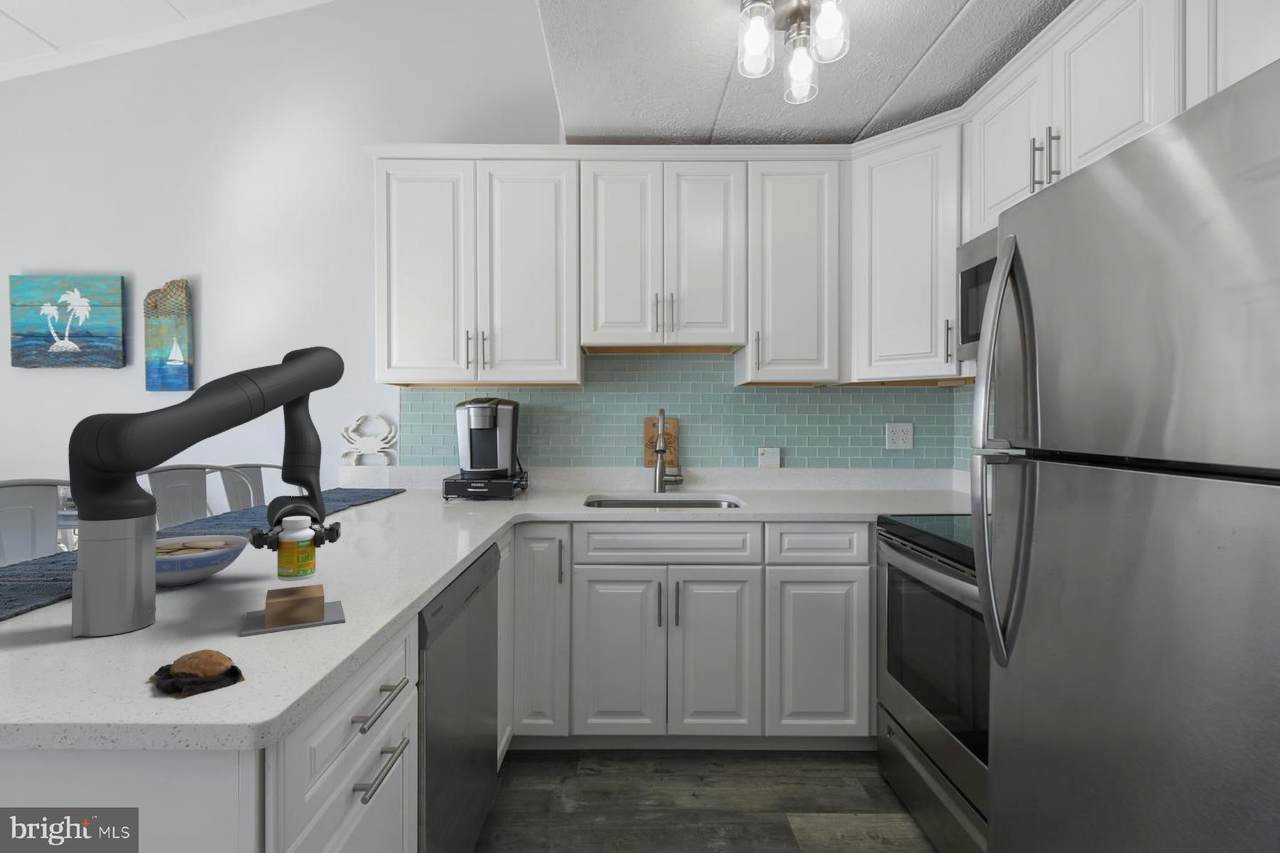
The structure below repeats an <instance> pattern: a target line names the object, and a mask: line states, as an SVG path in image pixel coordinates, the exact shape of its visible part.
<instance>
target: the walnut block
mask: <svg viewBox="0 0 1280 853" xmlns="http://www.w3.org/2000/svg"><path fill="white" fill-rule="evenodd" d="M264 603H265V608H264V610H265V629H267V628H274V627H282V626H289V625H296V624H304V623H311V622H318V621H324V603H325V592H324V586H323V583H321V584H320V583H319V584H311V585H303V586H302V585H301V586H293V587H284V588H276V589H275V588H274V589H267V592H266V598H265V602H264Z"/></svg>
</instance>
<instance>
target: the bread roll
mask: <svg viewBox="0 0 1280 853" xmlns="http://www.w3.org/2000/svg"><path fill="white" fill-rule="evenodd" d="M149 679H150V682H151V683H152V684H153V685H154V686H155V688H156V689H157V690H158V691H160V692H161V693H163V694H165V695H166V696H168V697H170V698H171V699H178V698H179V697H180V698H179V700H182V699H187V698H190V697H194V696H197V695H200V694H205V693H209V692H212V691H217V690H219V689H220V690H221V689H224V688H228V687H231V686H233V685H236V684H238V683H242V682H244V681H245V680H246V678H245V677H244V675H243V672H242V670H241V669H240V668H239V667H238V666H237V665H235V663H234V661H233V660H232V658H231V657H229V656H227V655H226V654H224V653H222V652H220V651H219V650H214V649H201V650H200V649H199V650H197V651H193V652H190V653H187V654H184V655H181V656H180V657H179V658H177V659H176V660H174V661H173V663H168V664H166V665H161V666H160V667H159V668H158V670H156V672H154V673H153V675H151V676H150V677H149Z"/></svg>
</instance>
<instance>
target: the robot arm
mask: <svg viewBox="0 0 1280 853" xmlns="http://www.w3.org/2000/svg"><path fill="white" fill-rule="evenodd" d="M344 372H345V362H344V360H343V358H342V356H341V355H340V353H339V352H337V350H334V349H333V348H331V347H327V346H320V345H319V346H318V345H317V346H311V347H310V346H309V347H305V348H299V349H294V350H290V351H289V352H287V353H286V354H285V355H284V356H283V358H282V359H281V363H278V364H270V365H266V366H265V365H264V366H258V367H254V368H250V369H249V368H248V369H244V370H241V371H237V372H233V373H229V374H227V375H225V376H222V377H218V378H216V379H215V378H214V379H213V380H210V381H208V382H206V383H204V384H203V385H201V386H200V387H199V388H197V389H196V390H195V391H194V392H193V393H192V394H191V395H190V396H189V397H188V398H186V399H185V400H183V401H181V402H178V403H176V404H173V405H170V406H169V405H168V406H166V407H165V406H164V407H162V408H158V409H154V410H150V411H143V412H137V413H136V412H135V413H134V412H133V413H131V412H130V413H127V412H124V413H121V412H120V413H118V412H117V413H116V412H114V413H110V412H108V413H97V414H91V415H89V416H87V417H84V418H83V419H81V420H80V421H79V422H78V423H77V424H76V425H75V426H74V428H73V429H72V431H71V434H70V437H69V443H68V455H67V456H68V472H69V475H68V476H69V490H70V496H71V499H72V501H73V503H74V505H75V507H76V510H77V569H76V570H75V571H73V572H72V575H71V576H72V577H71V578H72V579H71V580H72V581H71V582H72V583H71V586H72V588H71V590H72V591H71V637H72V638H76V637H103V636H110V635H113V636H114V635H118V634H124V633H129V632H134V631H137V630H140V629H143V628H146V627H148V626H150V625H152V624H154V623H155V622H156V615H157V614H156V610H157V606H156V600H157V599H156V594H157V593H156V592H157V589H156V587H157V584H156V540H157V499H156V497H155V495H153V494H151V493H150V492H148V491H146V490H145V489H144V488H143V487H142V486H141V485H140V484H139V482H138V479H137V473H141V472H145V471H149V470H152V469H154V468H156V467H158V466H160V465H161V464H163V463H166V462H167V461H169V460H170V459H172V458H173V457H175V456H177V455H179V454H180V453H182V452H184V451H186V450H188V449H189V448H191V447H193V446H194V445H197V444H198V443H200V442H202V441H205V440H207V439H210V438H212V437H215V436H217V435H220V434H222V433H225V432H226V431H229V430H231V429H233V428H236V427H239V426H242V425H245V424H247V423H249V422H251V421H253V420H256V419H258V418H260V417H262V416H264V415H266V414H268V413H271V412H273V411H274V410H277V409H278V408H280V407H282V410H283V420H284V422H283V423H284V443H283V444H284V445H283V455H282V456H283V457H282V463H281V464H282V465H281V477H280V478H281V481H282V482H283V483H285V484H287V485H291V486H295V487H299V488H302V489H304V490H305V491H306V492H307V494H308V495H278V496H276V497H275V498H273V499H272V500H271V501H270V502H269V504H268V506H267V510H266V519H267V523H268V525H269V529H268V531H264V529H263V528H259V527H252V528H250V531H249V533H250V535H249V538H250V539H249V542H250V543H249V544H250V545H251V546H252V547H253V548H254V549H255V550H262V549H263V548H265V546H266V549H267V550H271V552H272V553H274V552H277V549H278V535H279V533H281V532H282V531H284V528H283V526H282V519H283V518H286V517H293V516H309V517H310V518H311V524H310V526H309V529H311V530H313V531H314V532H315V546H316V549H318V548H319V549H321V546H322V545H323V546H324V545H326V541H327V542H328V543H331V544H335V543H336V542H337V541H338V540H339V539H340V538H341V531H342V530H341V528H342V526H341V524H342V523H341V522H339V521H336V522H333V523H329V526H325V525H324V522H325V520H326V518H327V517H326V516H327V510H326V504H325V502H324V497H323V494H322V488H321V482H320V479H321V478H320V477H321V476H320V475H321V473H320V472H321V462H322V461H321V460H322V441H321V439H320V435H319V432H318V431H317V428H316V426H315V424H314V422H313V420H312V417H311V413H310V406H309V402H310V397H311V393H314V392H316V391H320V390H321V391H322V390H324V389H329V388H332V387H334V386H335V385H337V384H338V383H340V381H341V379H342V378H343V376H344Z"/></svg>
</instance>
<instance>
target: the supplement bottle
mask: <svg viewBox="0 0 1280 853" xmlns="http://www.w3.org/2000/svg"><path fill="white" fill-rule="evenodd" d="M310 524H311V518H310V517H309V516H293V517H286V518H283V519H282V526H283V528H284V531H282V532H281V533H279V535H278V549H277V551H276V552H277V557H276V558H277V579H278V580H279V581H282V582H297V581H304V580H308V579H310V578H313V577H315V575H316V565H317V564H316V561H317V560H316V551H317V550H316V549H317V548H316V546H315V532H314V531H313V530H311V529H309V526H310Z"/></svg>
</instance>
